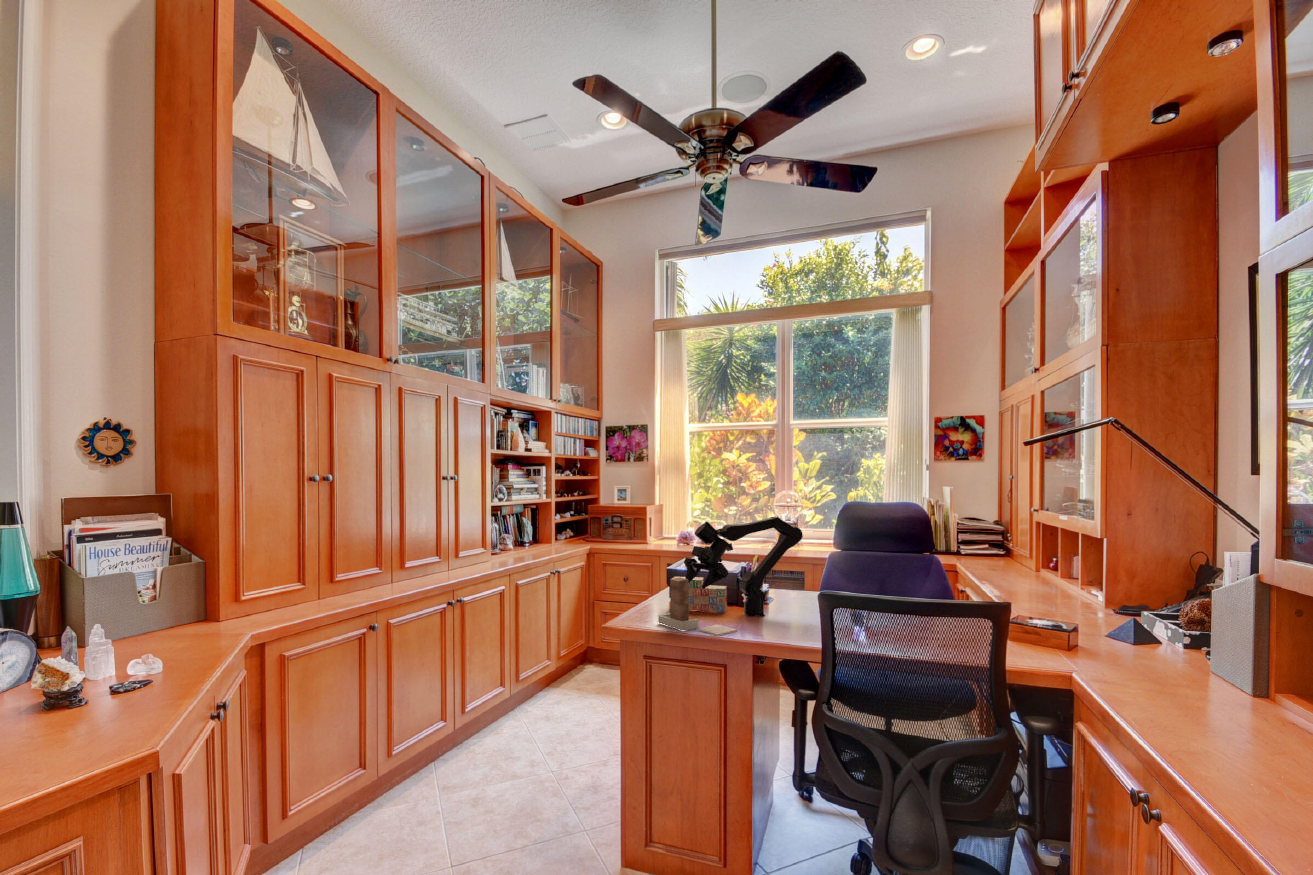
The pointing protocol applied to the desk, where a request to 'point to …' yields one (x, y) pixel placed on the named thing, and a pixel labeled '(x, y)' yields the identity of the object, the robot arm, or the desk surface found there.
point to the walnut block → (679, 599)
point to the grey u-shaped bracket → (677, 622)
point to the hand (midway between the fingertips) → (693, 585)
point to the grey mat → (717, 630)
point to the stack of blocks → (706, 596)
